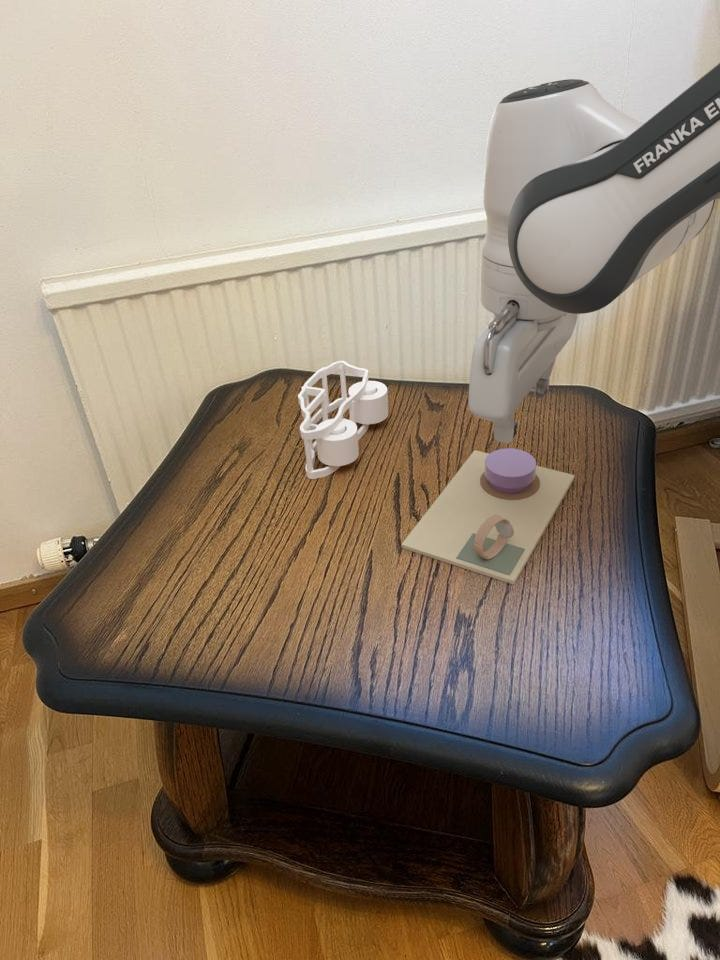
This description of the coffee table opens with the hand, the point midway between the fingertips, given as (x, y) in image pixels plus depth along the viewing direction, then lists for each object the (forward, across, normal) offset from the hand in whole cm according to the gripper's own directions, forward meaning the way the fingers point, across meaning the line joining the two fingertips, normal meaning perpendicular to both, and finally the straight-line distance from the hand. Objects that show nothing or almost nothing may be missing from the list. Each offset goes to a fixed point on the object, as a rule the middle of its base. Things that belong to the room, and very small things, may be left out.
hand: (522, 415), depth 76 cm
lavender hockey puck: (+18, +13, +5) cm, 23 cm away
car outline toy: (+19, +13, +31) cm, 39 cm away
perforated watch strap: (+18, -1, +2) cm, 19 cm away
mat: (+19, +7, +5) cm, 21 cm away
